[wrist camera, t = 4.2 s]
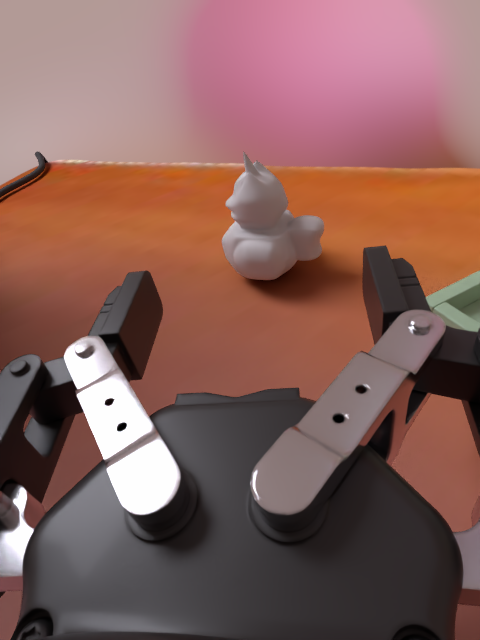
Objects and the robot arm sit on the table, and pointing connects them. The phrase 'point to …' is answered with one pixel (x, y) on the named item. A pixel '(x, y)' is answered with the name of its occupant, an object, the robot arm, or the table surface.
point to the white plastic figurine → (267, 227)
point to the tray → (459, 303)
